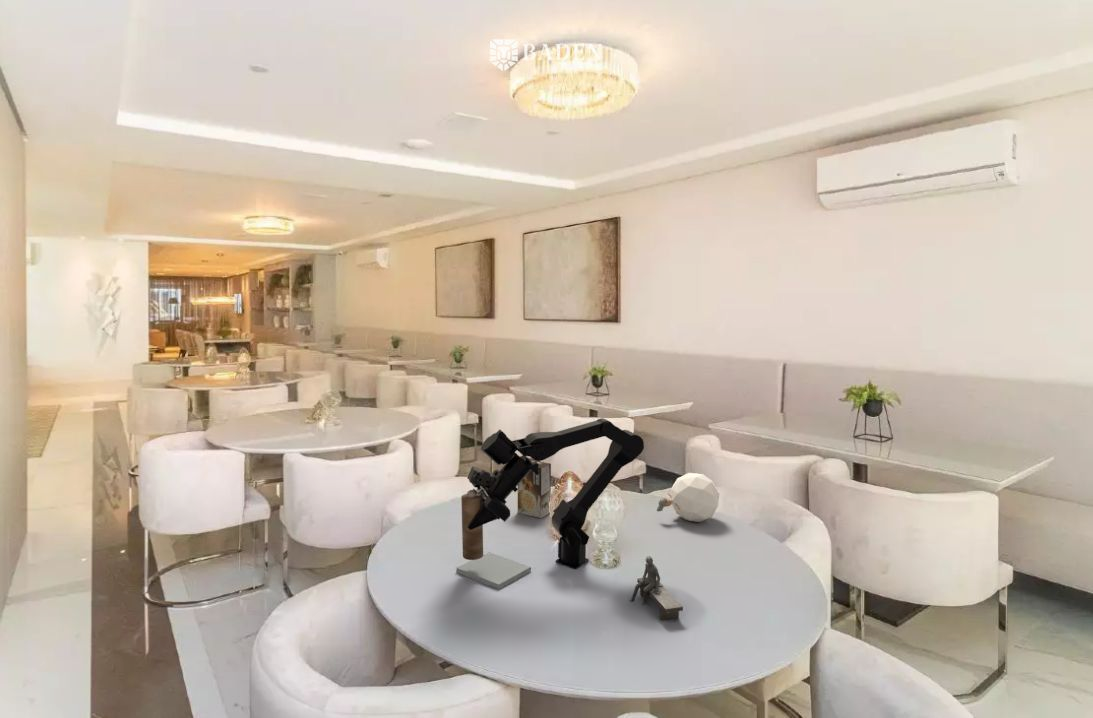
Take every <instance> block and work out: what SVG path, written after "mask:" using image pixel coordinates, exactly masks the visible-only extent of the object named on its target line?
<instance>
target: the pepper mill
mask: <svg viewBox="0 0 1093 718" xmlns="http://www.w3.org/2000/svg"><path fill="white" fill-rule="evenodd" d="M460 499H461V500H460V501H461V533H462V534H461V537H462V539H461V540H462V558H463V559H465V560H468V561H471V560H477V559H480V558H482V557H483V555H484V529H483V528H484V524H483V525H481V526H479V527H477V528H474V529H472V530H470V529H469V528H468V525H469V524H470V522H471V521H472V519H473V518H474V516H475V515H476V513H477V512H478V511H479V509H480V500H481V501H482V495H481V494H478V493H476V492H475V491H474V490H473V489H469V490H468V491H467V492H466V493H465V494H462V495H461V498H460Z"/></svg>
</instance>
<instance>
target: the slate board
mask: <svg viewBox="0 0 1093 718" xmlns="http://www.w3.org/2000/svg"><path fill="white" fill-rule="evenodd" d="M455 568H456V573H457V574H460V575H463V576H465V577H467V578H469V579H471V580H475V581H477V582H480V583H482V584H485V585H488V586H490V587H493V589H497V590H501V589H502V588H504V587H507V585H509V584H511V583H513V582H515V581H516V580H518V579H520V578H522V577H523V576H525V575H527V574H529V573H531V571H532V570H531V568H532V567H531V566H530V565H526V564H523V563H520V562H518V561H516V560H513V559H509V558H507V557H504V556H501V555H499V554H495V553H494V552H493V553H492V552H489V551H488V552H487V553H483V557H482V558H480V559H477V560H468V561H467V562H465V563H463V564H461V565H459V566H456V567H455Z"/></svg>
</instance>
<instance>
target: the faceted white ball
mask: <svg viewBox="0 0 1093 718" xmlns="http://www.w3.org/2000/svg"><path fill="white" fill-rule="evenodd" d="M667 495H668V496H669V497H670V499H668V498H661V499H660V500H658V506H657V508H656V512H663V509H664V508H665V507H670V506H672V507H673V510H674V511H675V513H676V514H677V515H678V516H679V517H681V518H682V519H684V520H685V521H688V522H689V521H690V522H695V523H696V522H697V523H702V522H704V521H705V520H708V519H710V518H712V517H713V516H714V514H715V512H716V510H718V507H719V501H720V500H719V499H720V492H719V490H718V488H717V486H716V485H715V483H714V481H713V480H712V479H710V477H708V476H706V475H705V474H703V473H696V472H695V473H694V472H687V473H685V474H684V475H682V476H679V477H677V478H676V480H675V482H674V483H673V485H672V487H671V490H670V493H669V492H667Z"/></svg>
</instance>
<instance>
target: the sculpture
mask: <svg viewBox="0 0 1093 718" xmlns="http://www.w3.org/2000/svg"><path fill="white" fill-rule="evenodd" d="M653 562H654V559H653V557H652V556H651V555H649V556H646V558H645V569H644V572H643V576H642V577H639V578H637V579H636V580H637V581H636V585H635V586H634V590H633V594H632V597H631V599H629V600H628V602H631V603H632V602H634V601H635V598H636V596H637V594H638V593H639V596H640V598H643V602H642V603H641V604H642V605H643V606H644V605H646V604H648V602H647V600H648V598H649V597H650V598H651V599H652V600H653V601H654V602H655V603H656V605H658V606H659V608H660V610H659V611H660V613H659V619H660V621H662V622H663V621H664V622H665V621H671V620H677V619H679V618H680V617H679V616H680V612H681V611H683V608H684V607H683V606H682V605H683V604H682V605H681V603H680V602H679V601H678V600H677V599H676V598H675V597H674V596H673V595H672V594H671V593H670V592H669V591H668V590H667V589H666V588H665V587H664V585H663V584H662V583H661V576H660V573H659V570H658V568H657V566H656V565H655V563H653Z"/></svg>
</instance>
